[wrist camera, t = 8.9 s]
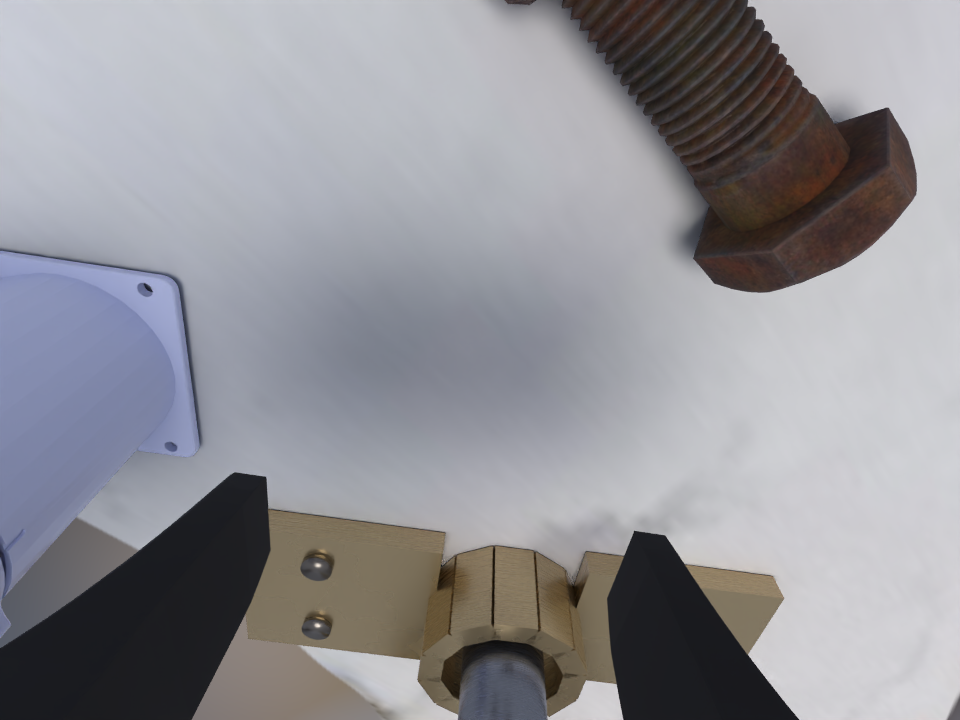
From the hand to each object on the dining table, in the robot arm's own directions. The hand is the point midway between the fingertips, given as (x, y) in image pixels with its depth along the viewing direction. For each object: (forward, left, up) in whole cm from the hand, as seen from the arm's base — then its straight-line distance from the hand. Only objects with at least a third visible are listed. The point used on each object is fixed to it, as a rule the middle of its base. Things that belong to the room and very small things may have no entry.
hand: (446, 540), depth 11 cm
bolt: (+3, +10, -11) cm, 15 cm away
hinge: (+4, -15, -10) cm, 19 cm away
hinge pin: (+4, -15, -10) cm, 18 cm away
